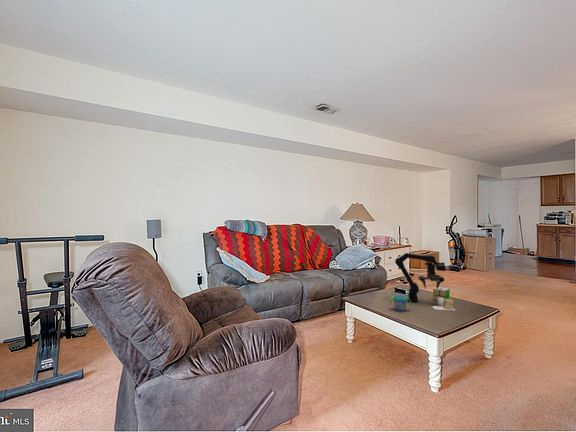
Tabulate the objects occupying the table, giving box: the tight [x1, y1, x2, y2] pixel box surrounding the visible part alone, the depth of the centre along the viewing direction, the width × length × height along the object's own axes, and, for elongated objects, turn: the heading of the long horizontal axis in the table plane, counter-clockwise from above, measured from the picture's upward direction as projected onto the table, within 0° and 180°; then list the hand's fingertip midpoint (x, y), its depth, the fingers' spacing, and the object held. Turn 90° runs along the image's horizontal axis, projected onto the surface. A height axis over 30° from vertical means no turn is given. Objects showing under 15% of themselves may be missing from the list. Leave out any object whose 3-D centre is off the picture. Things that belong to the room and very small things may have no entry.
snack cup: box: [389, 294, 412, 312], centre depth 218 cm, size 16×10×10 cm
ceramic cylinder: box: [437, 297, 444, 307], centre depth 227 cm, size 4×4×6 cm
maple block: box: [443, 299, 454, 309], centre depth 218 cm, size 5×5×6 cm
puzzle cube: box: [432, 286, 451, 303], centre depth 239 cm, size 10×10×10 cm
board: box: [431, 305, 457, 312], centre depth 218 cm, size 15×8×1 cm, turn 80°
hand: (431, 288), depth 232 cm, fingers open, 9 cm apart
